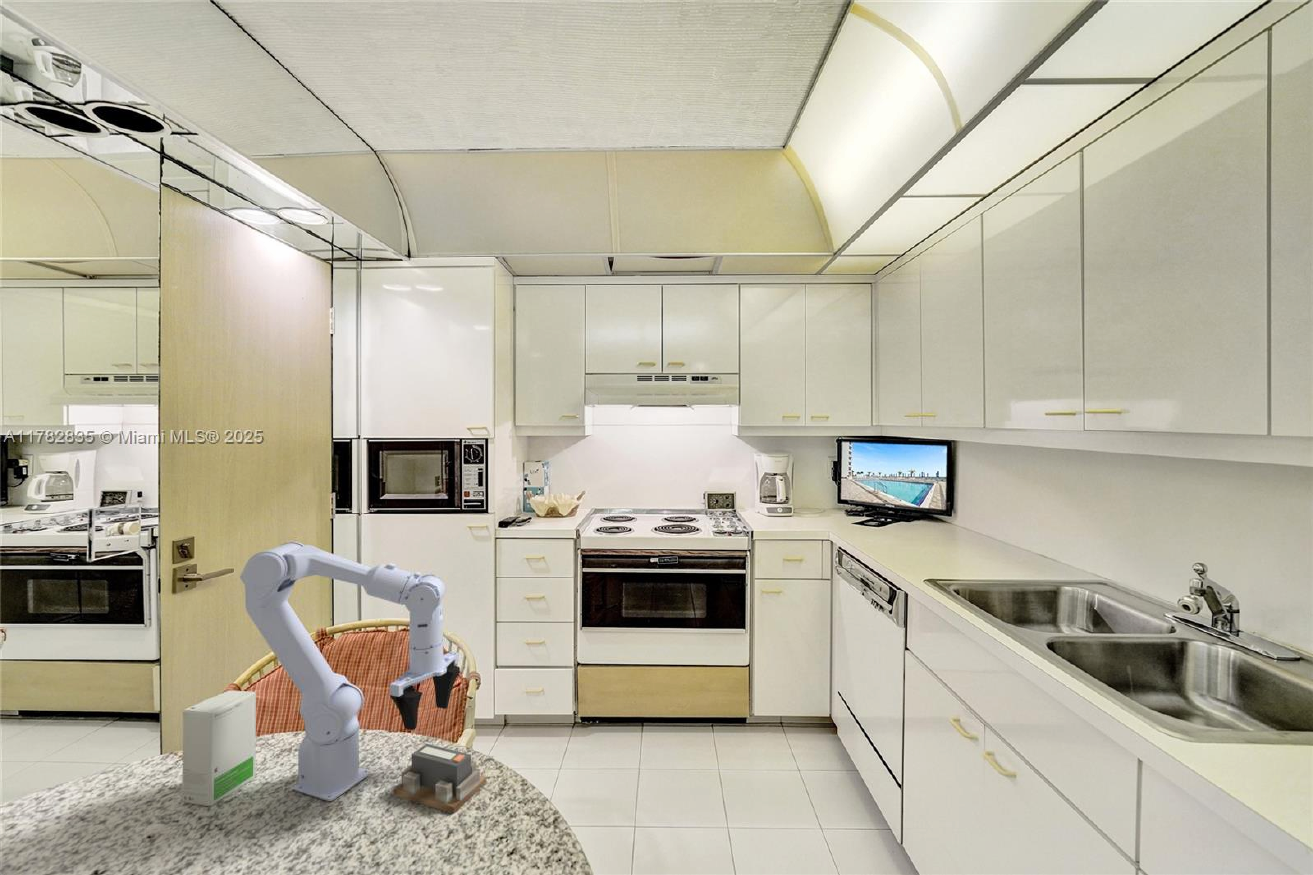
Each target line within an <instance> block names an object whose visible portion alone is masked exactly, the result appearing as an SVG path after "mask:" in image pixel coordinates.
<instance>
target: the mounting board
mask: <svg viewBox="0 0 1313 875" xmlns="http://www.w3.org/2000/svg"><path fill="white" fill-rule="evenodd" d="M486 783H487V777H486V776H483V775H481V774H480V770H477V762H476V761H472V760H471V775H470V776H469V777H468V778H467V779H466V780H464V781H463V782H462V783H461V784H460V785H459V786H458V787H457V788H456V794H457V796H455V795H452V783H449V782H445V781H442V780H441V781H439V782H438V783H437V784H436V785H435V790H434V789H430V788H427V787H423V786H420V774H416V773H412V764H411V765H410V766H408V767H407V768H406V769H404V770H402V771H401V783H400V784H399V785H397V786H396V787H395V788H394V789H393V796H394V797H398V798H401V799H404V800H407V801H411V802H414V803H418V804H422V805H424V806H428V807H431V808H435V809H437V810H441V811H444V812H448V813H451V814H455V813H456V812H457V811H459V809H461V807H462V806H464V805H465V804H466V803H467V802H468V801H469V800H470V799H471V798H472V797H473V796H474V795H475V794H476V793H477V792H479V790H481V788H483V787H484V785H486Z"/></svg>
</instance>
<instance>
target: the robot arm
mask: <svg viewBox="0 0 1313 875" xmlns="http://www.w3.org/2000/svg"><path fill="white" fill-rule="evenodd" d="M311 576H320V577H324V578H329V579H332V580H337V581H341V582H346V583H349V584H350V583H351V584H353V585H357V586H361V587H363V589H364V592H365V593H366V595H368V596H371V597H373V598H378V599H381V600H384V601H388V602H392V603H395V604H398V605H402V606H404V607H405V608H406V609H407V611H408V612H409V623H408V625H409V629H408V630H409V633H408V634H409V635H408V637H409V638H408V639H409V640H408V641H409V642H408V643H409V644H408V645H409V648H408V649H409V650H408V651H409V663H408V664H409V665H408V666H409V668H408V669H407V670H406V671H405V672H404V673H403V674H401V675H400V677H398V678H397V679H396V680H395V681H392V682H391V683H390V684H389V697H390V699H391V700H392V701H393V702H394V704H395V706H396V707H397V709H398V712H399V714H400V717H401V720H402V724H403V727H404V730H410V731H415V730H416V729H417V726H418V719H419V718H418V716H419V715H418V713H419V712H418V711H419V706H420V702H421V699H422V695H423V692H422V691H416V688H414V686H416V685H418V684H420V683H421V682H424V681H425V680H427V679H430V678H431V679H432V680H433V687H434V695H435V697H434V699H435V706H436V708H438V709H444V710H446V709H448V706H449V703H450V699H451V693H452V692H453V691H452V690H453V687H454V684H455V682H456V680H457V678H458V676H459V674H460V673H461V667H459V666H456V665H457V664H459V663H460V662H459V652H455V651H450V652H447V653H446V654H444V615H443V602H441V601H442V600H443V598H444V597H445V594H446V584H445V582H444V580H442V578H441V577H439V576H436V575H435V574H433V573H428V574H424V575H422V572H419V571H416V572H415V573H413V572H410V571H407V570H403V569H402V568H401V569H400V568H397V564H396V563H393V562H388V563H387V564H385V563H380V564H379V565H376V566H374V567H370V566H368V565H366V564H363V563H360V562H356V561H353V560H351V559H348V558H345V557H342V556H339V555H337V554H334V553H331V552H329V551H326V550H323V549H321V548H319V547H317V546H315V545H310V544H303V543H301V542H299V541H288V542H284V543H281V544H280V545H278V546H276V547H273V548H269V549H268V550H262V551H259V552H257V553H255V554H254V555H252V556H251V557H249V559H248V560H247V562H246V564H245V565H244V568H243V570H242V572H241V573H240V575H239V578H240V580H241V581H242V583H243V585H244V593H245V595H244V596H245V597H244V598H245V600H244V601H245V609H246V612H247V614H248V616H249V618H250V619H251V621H252V622H253V624H254V625H255V626H256V628H257V629H258V631H259V633H260V634H261V636H262V637H263V639H264V640H265V642H266V644H267V645H268V646H269V648H270V649H271V651H272V653H273V654H274V656H275V657H276V659H277V660H278V661H279V663H280V664H281V666H282V667H283V669H284V670H285V673H287V675H288V677H289V678H290V680H291V682H292V683H293V684H294V686H295V688H296V689H297V690H298V693H300V696H301V699H300V705H299V706H300V707H299V715H300V716H301V717H302V719H303V722H304V733H305V736H304V737H303V739H301V742H300V744H299V747H298V751H297V757H298V758H297V765H298V768H297V770H298V771H297V772H298V773H297V778H298V779H297V780H298V781H297V784H294V786H293V789H292V790H294V791H297V792H300V793H303V794H306V795H307V796H308V795H309V796H311V797H315V798H317V799H321V800H324V801H327V802H332V801H334V800H335V799H337V798H338V797H340V796H341V795H342V794H344V793H346V792H347V791H348V790H350V789H351V788H352V787H354V786H356V785H357V784H359V783H360V782H361V781H363V780H364V779H366V778H368V777H369V776H370V775H371V774H372V772H371V770H369V769H366V768H362V767H360V723H359V720H358V713H359V712H360V711H361V710H362V707H363V706H364V699H365V698H364V697H365V696H364V694H363V691H362V690H361V689H360V688H359V687H358V686H357V685H354V684H352V683H351V682H350V681H349V680H348V678H347V677H346V676H345V675H343V674H340V673H336V672H334V671H333V670H332V668H331V667H330V664H328V662H327V660H326V659H325V657H324V656H323V654H322V653H321V650H319V648H318V646H317V645H316V643H315V642H314V640H313V639H312V637H311V636H310V634H309V633H308V631H307V629H306V628H305V626H304V624H303V623H302V621H301V620H300V619H299V617H298V616H297V614H296V612H295V611H294V609H293V608H292V606H291V604H290V603H289V601H288V599H289V597H290V595H291V592H292V590H293V588H294V586H295V583H297V581H298V580H301V579H303V578H307V577H311Z"/></svg>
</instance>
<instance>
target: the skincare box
mask: <svg viewBox="0 0 1313 875" xmlns="http://www.w3.org/2000/svg"><path fill="white" fill-rule="evenodd" d="M256 694H257V692H255V691H244V690H227V691H225V692H223V693H220V694H218V695H215V696H213V697H210V698H207V699H204V700H202V701H201V702H198V703H196V704H195V705H192V706H190V707H188V708H185V709H183V711H182V782H181V783H182V784H181V785H182V789H181V802H182V803H185V804H191V805H198V806H204V807H212V806H214V805H215V804H217V803H218V802H220V801H222V800H223V799H225V798H226V797H227V796H230V795H231V794H232V793H234V792H235V791H237V790H239V789H240V788H242V787H243V786H245V785H247V784H248V783H249V782H251V781H253V780H254V779H256V776H257V774H256V770H257V769H256V768H257V767H256V765H257V764H256V763H257V762H256V758H257V756H256V738H257V737H256V735H257V734H256V732H257V731H256V730H257V729H256V728H257V727H256V725H257V723H256V718H257V717H256V716H257V713H256V712H257V710H256V709H257V695H256Z"/></svg>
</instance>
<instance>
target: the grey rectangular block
mask: <svg viewBox="0 0 1313 875" xmlns="http://www.w3.org/2000/svg"><path fill="white" fill-rule="evenodd" d="M471 761H472V754H470V753H465V752H461V751H457V750H453V749H449V748H447V747H446V748H445V747H441V746H438V745H434V744H429V743H425V744H424V745H423V746H421V747H419V748H418V749H416V750H415V751H414V752H413V753H412V754H411V765H412V773H416V774H420V786H423V787H427V788H430V789H434V790H435V785H436V784H437V783H438V782H439V781H441V780H442V781H445V782H449V783H452V795H455V796H457V794H456V788H457V787H458V786H459V785H460V784H461V783H462V782H463V781H464V780H466V779H467V778H468V777H469V776H470V775H471Z"/></svg>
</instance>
